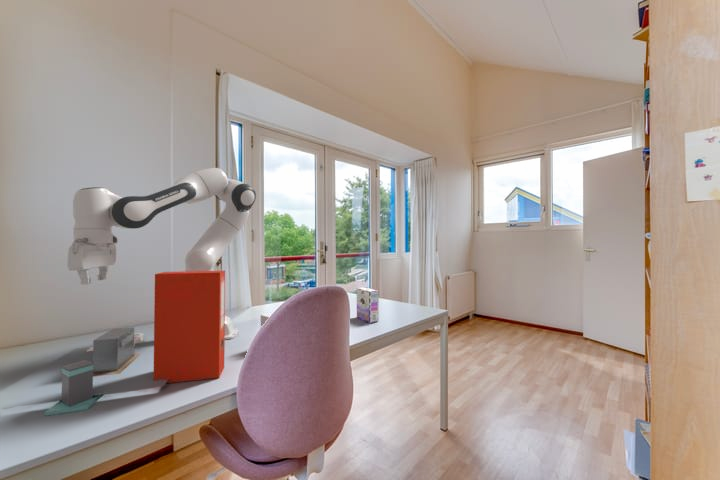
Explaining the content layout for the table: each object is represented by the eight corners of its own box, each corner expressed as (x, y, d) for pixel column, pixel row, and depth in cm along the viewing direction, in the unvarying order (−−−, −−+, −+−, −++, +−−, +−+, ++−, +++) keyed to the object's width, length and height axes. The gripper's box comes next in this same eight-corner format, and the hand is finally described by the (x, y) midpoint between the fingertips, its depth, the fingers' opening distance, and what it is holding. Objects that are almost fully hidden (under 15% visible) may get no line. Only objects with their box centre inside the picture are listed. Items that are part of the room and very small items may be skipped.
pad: (104, 393, 78) (104, 390, 78) (87, 409, 70) (87, 406, 70) (67, 398, 75) (67, 395, 75) (45, 415, 67) (45, 412, 67)
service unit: (134, 356, 99) (135, 327, 99) (118, 370, 88) (118, 338, 88) (111, 358, 97) (111, 329, 97) (91, 373, 86) (92, 340, 86)
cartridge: (85, 393, 76) (85, 359, 76) (92, 398, 74) (93, 363, 74) (61, 402, 72) (61, 366, 72) (68, 407, 70) (68, 370, 70)
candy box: (379, 321, 148) (379, 290, 148) (369, 323, 145) (369, 291, 145) (365, 316, 160) (365, 286, 160) (356, 317, 157) (356, 287, 157)
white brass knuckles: (113, 342, 118) (153, 340, 120) (79, 360, 100) (126, 357, 103) (113, 334, 118) (153, 332, 120) (79, 350, 100) (126, 348, 103)
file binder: (164, 373, 90) (165, 271, 90) (224, 367, 94) (225, 270, 94) (153, 385, 82) (154, 274, 82) (218, 378, 86) (219, 272, 86)
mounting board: (141, 357, 101) (141, 353, 101) (120, 378, 86) (120, 373, 86) (106, 361, 98) (106, 357, 98) (78, 383, 83) (78, 378, 83)
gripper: (87, 238, 82) (88, 286, 82) (119, 238, 101) (120, 277, 101) (58, 238, 80) (60, 287, 80) (97, 238, 99) (98, 278, 99)
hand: (94, 281), depth 90 cm, fingers open, 8 cm apart
